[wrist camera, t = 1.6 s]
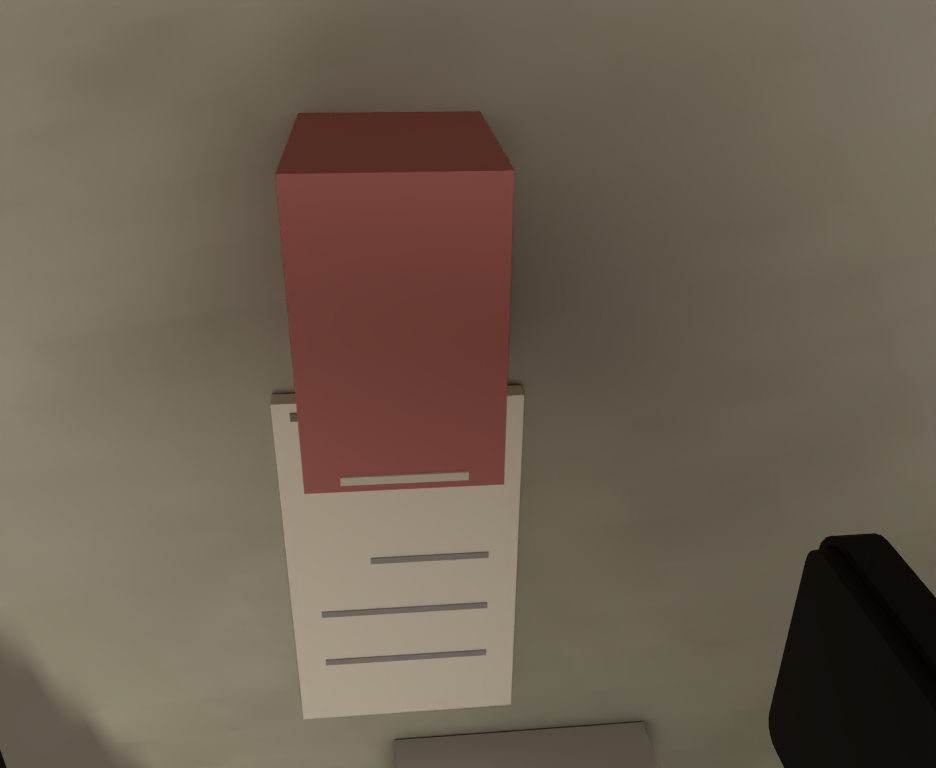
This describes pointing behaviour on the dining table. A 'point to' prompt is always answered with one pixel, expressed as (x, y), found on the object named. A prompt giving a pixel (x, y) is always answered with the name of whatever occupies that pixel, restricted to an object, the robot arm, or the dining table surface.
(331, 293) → the red block with stripe
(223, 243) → the dining table surface
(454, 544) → the ticket
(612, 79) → the dining table surface
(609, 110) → the dining table surface
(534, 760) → the tray
